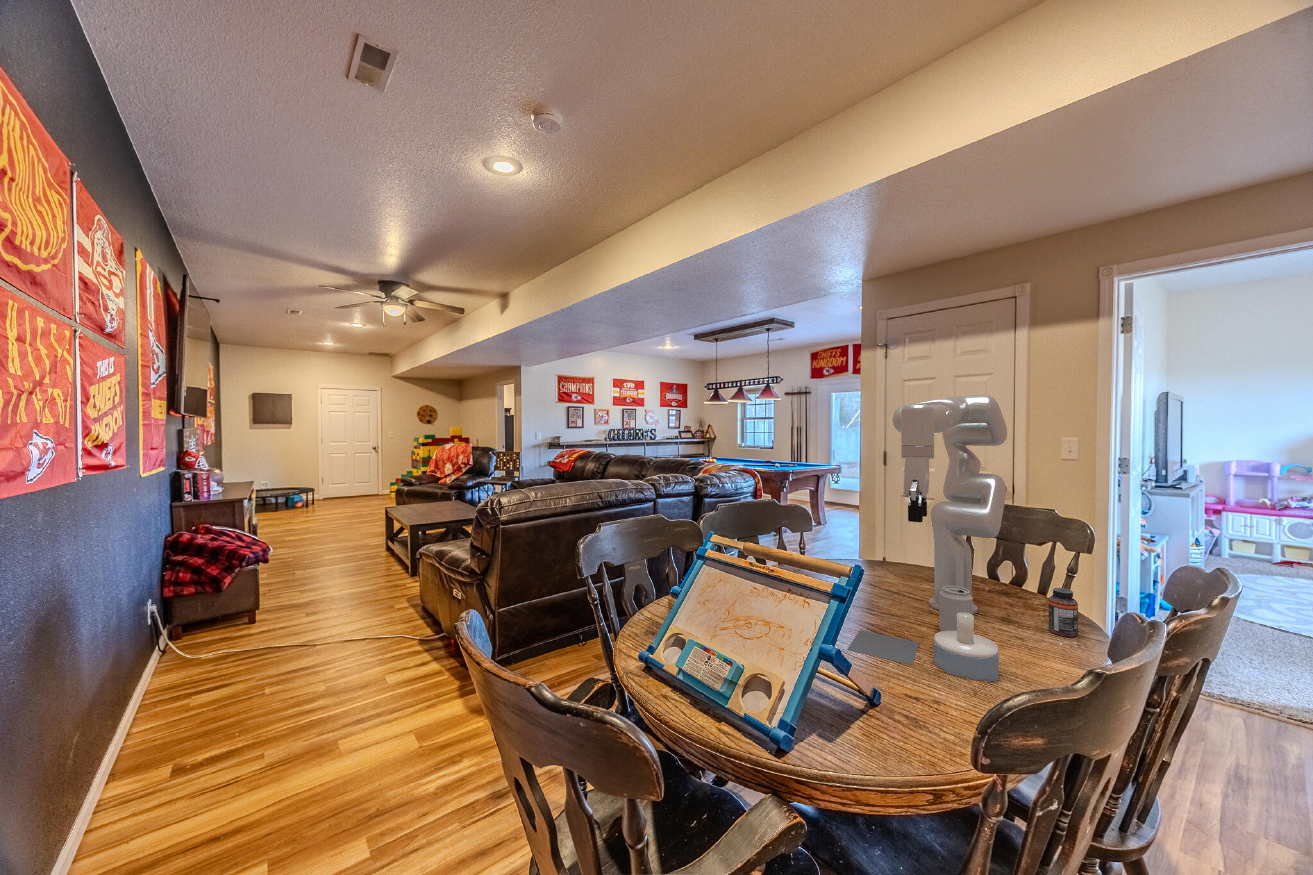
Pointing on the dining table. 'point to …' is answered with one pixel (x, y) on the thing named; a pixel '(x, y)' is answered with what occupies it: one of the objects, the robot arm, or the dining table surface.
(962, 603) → the can
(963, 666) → the bowl
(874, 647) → the plate
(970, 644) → the lid
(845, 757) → the dining table surface
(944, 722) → the dining table surface
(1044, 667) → the dining table surface
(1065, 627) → the supplement bottle
